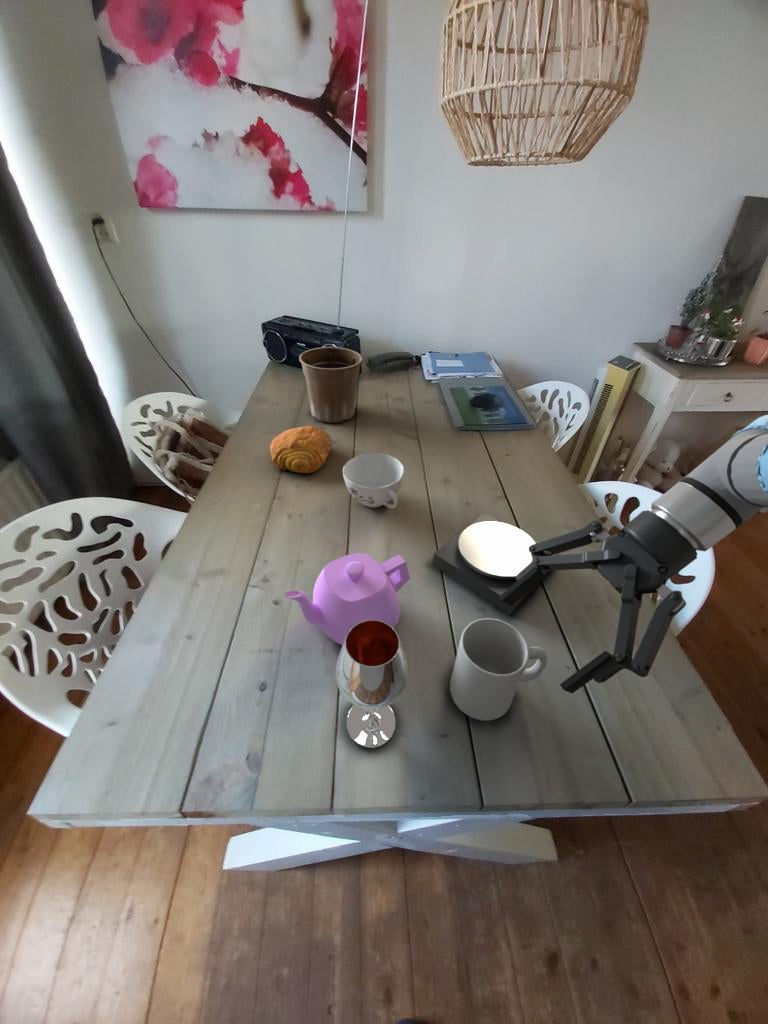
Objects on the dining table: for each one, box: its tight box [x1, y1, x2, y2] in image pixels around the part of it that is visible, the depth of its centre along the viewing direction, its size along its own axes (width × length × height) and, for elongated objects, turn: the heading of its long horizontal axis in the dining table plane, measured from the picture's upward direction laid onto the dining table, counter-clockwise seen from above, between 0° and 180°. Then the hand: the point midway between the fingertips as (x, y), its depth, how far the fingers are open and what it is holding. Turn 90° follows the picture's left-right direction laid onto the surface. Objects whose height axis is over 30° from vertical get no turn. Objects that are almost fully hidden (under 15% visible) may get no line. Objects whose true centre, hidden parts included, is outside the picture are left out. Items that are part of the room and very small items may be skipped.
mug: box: [449, 617, 548, 722], centre depth 58 cm, size 12×8×11 cm
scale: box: [432, 512, 560, 616], centre depth 79 cm, size 16×16×4 cm
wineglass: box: [334, 620, 409, 749], centre depth 52 cm, size 8×8×18 cm
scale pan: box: [458, 521, 536, 580], centre depth 78 cm, size 14×14×1 cm
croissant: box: [269, 425, 332, 474], centre depth 105 cm, size 14×16×8 cm
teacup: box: [342, 452, 405, 509], centre depth 91 cm, size 15×12×8 cm
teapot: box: [283, 552, 411, 646], centre depth 67 cm, size 13×20×11 cm, turn 119°
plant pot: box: [298, 346, 363, 424], centre depth 120 cm, size 16×16×16 cm
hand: (532, 641), depth 56 cm, fingers open, 13 cm apart
